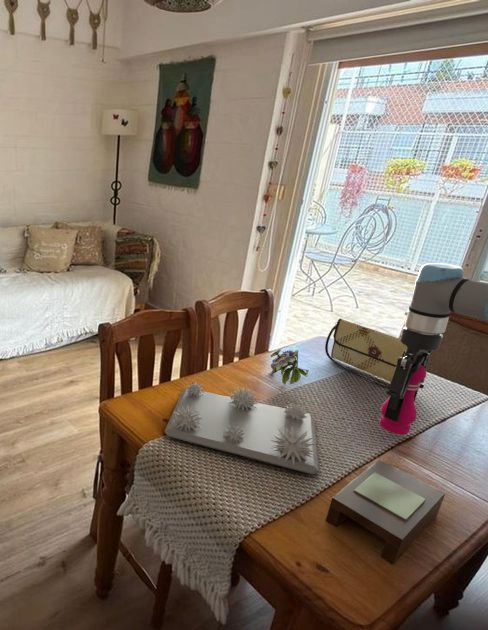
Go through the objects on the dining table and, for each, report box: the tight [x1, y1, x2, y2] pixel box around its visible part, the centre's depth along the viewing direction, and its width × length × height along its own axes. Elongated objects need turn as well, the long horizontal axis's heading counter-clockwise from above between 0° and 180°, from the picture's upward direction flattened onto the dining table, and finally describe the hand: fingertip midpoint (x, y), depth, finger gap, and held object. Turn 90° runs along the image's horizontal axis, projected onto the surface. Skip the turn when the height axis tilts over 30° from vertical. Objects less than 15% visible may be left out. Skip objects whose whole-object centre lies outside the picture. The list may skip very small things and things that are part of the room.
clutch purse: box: [324, 318, 407, 389], centre depth 142 cm, size 30×7×15 cm, turn 27°
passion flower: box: [270, 348, 310, 386], centre depth 141 cm, size 11×11×12 cm
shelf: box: [325, 459, 446, 565], centre depth 87 cm, size 12×20×6 cm, turn 124°
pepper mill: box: [378, 364, 427, 436], centre depth 108 cm, size 7×7×20 cm
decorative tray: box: [164, 381, 320, 475], centre depth 114 cm, size 35×26×10 cm
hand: (398, 413), depth 110 cm, fingers closed on pepper mill, 7 cm apart
